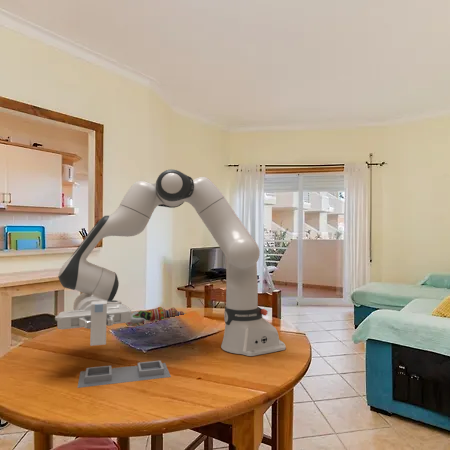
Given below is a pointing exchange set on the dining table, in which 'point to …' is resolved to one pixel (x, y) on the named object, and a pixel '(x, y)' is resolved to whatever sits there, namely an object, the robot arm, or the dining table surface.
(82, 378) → the grey flat plate
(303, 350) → the dining table surface
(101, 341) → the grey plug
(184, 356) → the dining table surface
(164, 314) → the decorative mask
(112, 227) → the robot arm
